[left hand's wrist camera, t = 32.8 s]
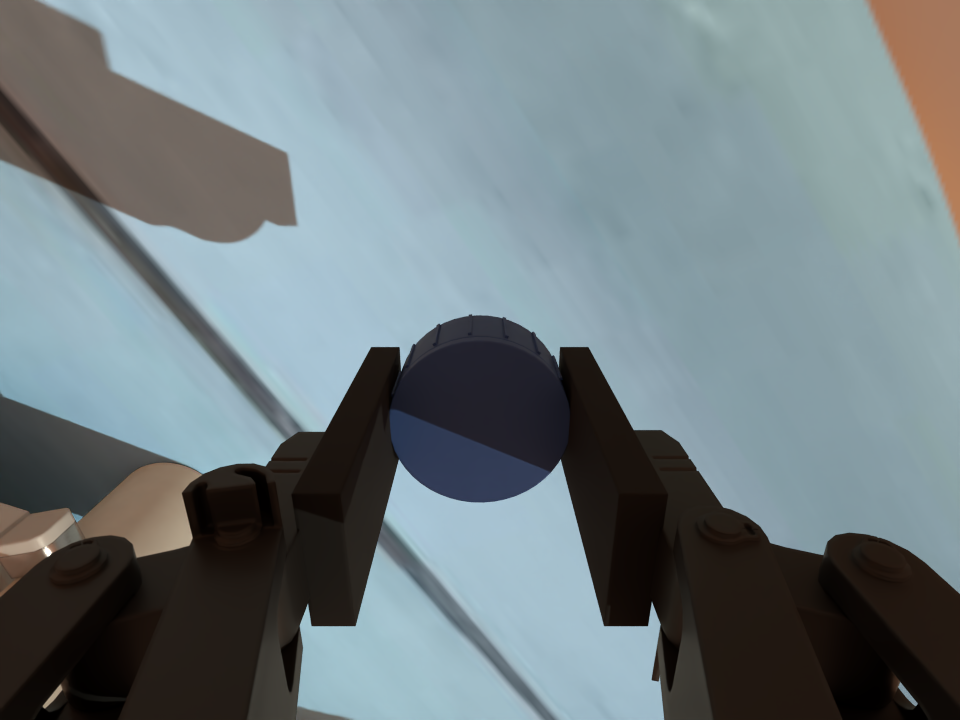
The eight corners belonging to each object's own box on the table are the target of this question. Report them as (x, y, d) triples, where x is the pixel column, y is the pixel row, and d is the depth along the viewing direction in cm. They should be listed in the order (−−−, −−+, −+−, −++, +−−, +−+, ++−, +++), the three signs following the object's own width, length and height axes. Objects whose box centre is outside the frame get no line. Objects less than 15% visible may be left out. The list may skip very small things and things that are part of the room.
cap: (470, 487, 16) (469, 532, 14) (365, 382, 15) (348, 416, 13) (592, 400, 15) (608, 436, 13) (490, 279, 13) (492, 300, 12)
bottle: (101, 509, 26) (-544, 1110, 10) (156, 442, 25) (-483, 1007, 8) (191, 565, 27) (-245, 1185, 11) (248, 505, 26) (-151, 1105, 10)
